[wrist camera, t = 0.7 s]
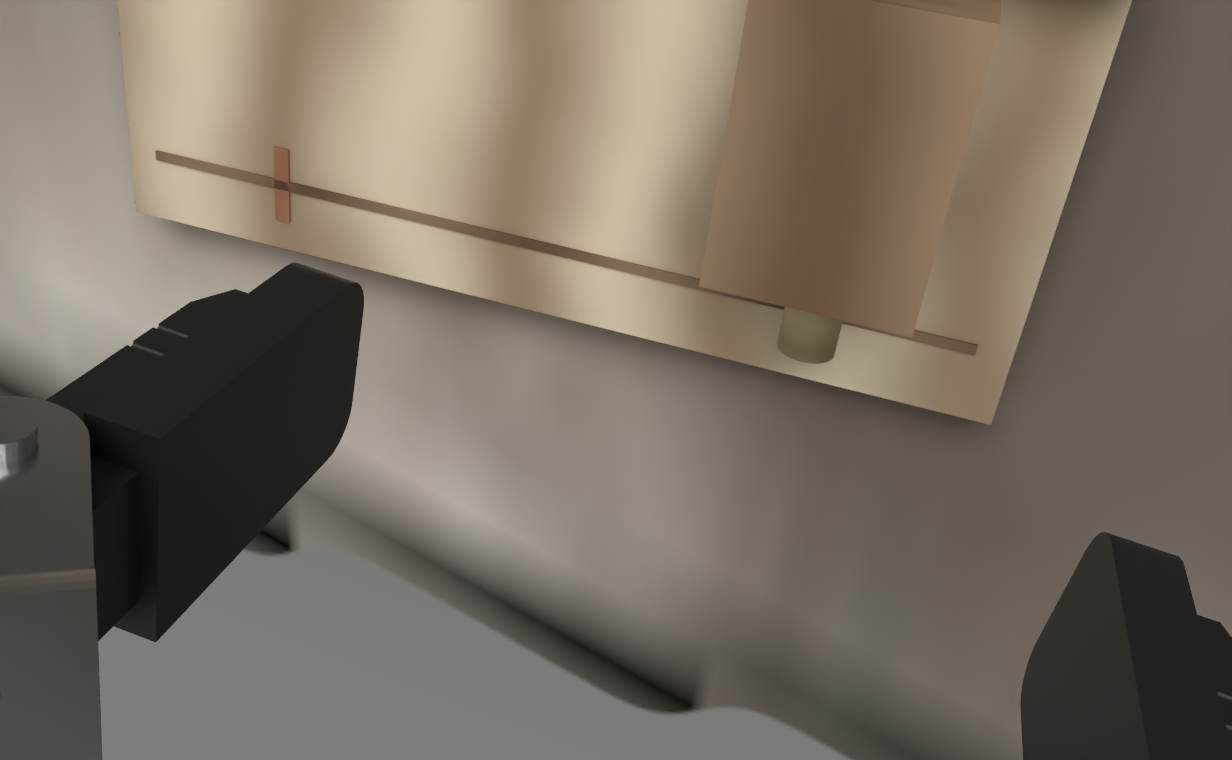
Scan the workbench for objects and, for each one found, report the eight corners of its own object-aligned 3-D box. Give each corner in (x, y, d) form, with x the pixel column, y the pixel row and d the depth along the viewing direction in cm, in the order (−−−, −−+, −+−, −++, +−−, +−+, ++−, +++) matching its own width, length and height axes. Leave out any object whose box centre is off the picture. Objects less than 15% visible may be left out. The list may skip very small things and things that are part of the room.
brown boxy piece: (1003, -24, 28) (999, 24, 23) (900, 347, 33) (879, 454, 28) (798, -61, 29) (751, -21, 24) (729, 306, 34) (678, 402, 29)
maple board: (1155, -105, 28) (1174, -86, 25) (992, 393, 35) (989, 460, 32) (139, -267, 34) (40, -269, 30) (172, 192, 41) (96, 232, 37)
